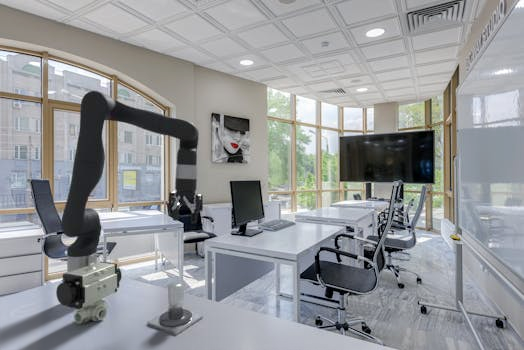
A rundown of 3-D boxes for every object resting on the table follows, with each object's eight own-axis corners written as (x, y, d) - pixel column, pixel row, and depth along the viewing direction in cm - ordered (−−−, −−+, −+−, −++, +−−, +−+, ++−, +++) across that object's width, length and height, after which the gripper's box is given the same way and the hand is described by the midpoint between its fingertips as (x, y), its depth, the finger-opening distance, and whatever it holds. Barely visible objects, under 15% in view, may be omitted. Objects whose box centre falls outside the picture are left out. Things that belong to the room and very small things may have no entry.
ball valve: (76, 336, 85) (75, 274, 85) (55, 330, 88) (55, 270, 88) (125, 308, 102) (125, 257, 102) (106, 304, 105) (106, 254, 105)
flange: (147, 324, 92) (147, 320, 92) (175, 308, 102) (175, 304, 102) (175, 335, 86) (175, 330, 86) (203, 317, 97) (203, 312, 97)
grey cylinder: (164, 317, 94) (164, 285, 93) (175, 311, 98) (176, 280, 98) (176, 321, 91) (176, 288, 91) (186, 314, 95) (187, 283, 95)
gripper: (164, 176, 108) (162, 220, 109) (194, 178, 102) (192, 225, 102) (178, 176, 115) (177, 218, 115) (208, 178, 108) (206, 222, 109)
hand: (184, 221), depth 109 cm, fingers open, 8 cm apart
